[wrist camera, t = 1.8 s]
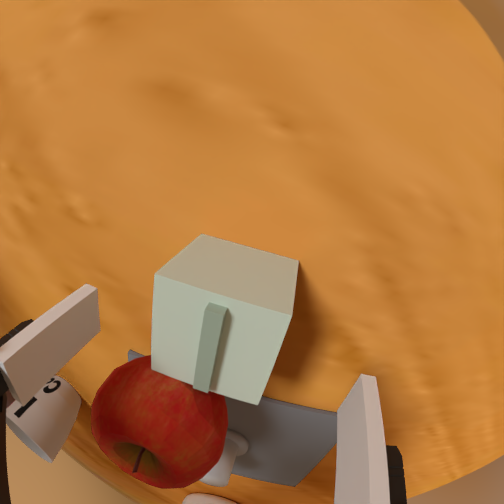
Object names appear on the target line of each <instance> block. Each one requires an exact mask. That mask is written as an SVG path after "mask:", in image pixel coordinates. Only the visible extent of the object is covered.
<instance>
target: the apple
mask: <svg viewBox="0 0 504 504" xmlns="http://www.w3.org/2000/svg"><path fill="white" fill-rule="evenodd" d="M91 427H92V434H93V436H94V438H95V439H96V441H97V443H98V445H99V447H100V449H101V450H102V451H103V452H104V453H105V454H106V455H107V456H108V458H109V459H111V460H112V461H113V462H114V463H115V464H116V465H117V466H118V467H119V468H120V469H122V470H123V471H124V472H126V473H128V474H129V475H131V476H133V477H135V478H137V479H139V480H141V481H143V482H145V483H147V484H149V485H152V486H155V487H158V488H184V487H186V486H188V485H190V484H192V483H194V482H196V481H198V480H200V479H202V478H203V477H204V476H205V475H206V474H207V473H208V472H209V471H210V470H211V469H212V468H213V467H214V466H215V465H216V464H217V463H218V462H219V459H220V457H221V455H222V453H223V449H224V443H225V438H226V433H227V428H228V413H227V406H226V401H225V397H224V395H221V394H218V393H214V392H211V391H209V392H208V393H206V392H203V391H200V390H197V389H194V388H193V385H191V384H188V383H185V382H183V381H180V380H177V379H175V378H172V377H170V376H167V375H164V374H162V373H159V372H157V371H155V370H152V369H151V355H150V356H144V357H140V358H135V359H133V360H131V361H129V362H127V363H126V364H124V365H122V366H120V367H118V368H116V369H114V371H113V372H112V373H111V374H110V375H109V377H108V378H107V379H106V380H105V382H104V383H103V384H102V385H101V387H100V388H99V389H98V391H97V393H96V396H95V398H94V401H93V404H92V409H91Z"/></svg>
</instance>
